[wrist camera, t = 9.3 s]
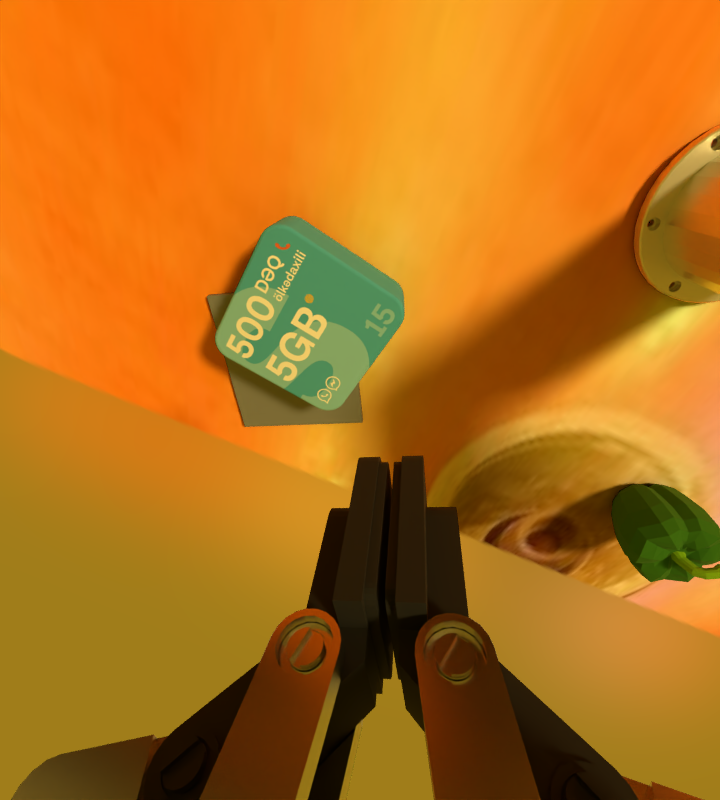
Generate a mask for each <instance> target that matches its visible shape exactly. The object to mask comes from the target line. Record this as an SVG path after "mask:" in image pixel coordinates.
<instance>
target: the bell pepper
mask: <svg viewBox="0 0 720 800" xmlns="http://www.w3.org/2000/svg"><path fill="white" fill-rule="evenodd" d="M611 515H612V521H613V526H614V530H615V534H616V538H617V540H618V542H619V544H620V546H621V548H622V550H623V552H624V554H625V555H626V556H628V558H629V560H630V562H631V563H632V564H633V566H634V567H635V568H636V569H637V570H638V571H639V572H640V574H641V575H642V576H644V577H645V578H646V579H648V580H649V581H650V582H653V581H658V580H663V579H667V580H675V581H684V582H689V581H690V580H691V579H692V578H693V577H699V578H703V579H718V578H720V564H717V565H716V566H715V567H714V568H702V565H709V564H713V563H716V562H718V561H720V528H719V526H718V525H717V524H716V523H715V521H714V520H713V519H712V518H711V517H710V516H709V515H708V514H707V512H706V511H705V510H704V509H703V508H701V507H700V506H699V505H697V504H696V503H695V502H693V501H692V500H691V499H689V498H688V497H686V496H685V495H683V494H682V493H680V492H679V491H677V490H676V489H674V488H671V487H668V486H665V485H659V484H654V485H652V486H650V487H647V486H645V485H643V484H635V485H630V486H629V487H627V488H625V489H623V490H621V491H620V492H619V493H618V494H617V496H616V497H615V498H614V500H613V504H612V512H611Z"/></svg>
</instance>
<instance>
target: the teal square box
mask: <svg viewBox="0 0 720 800" xmlns="http://www.w3.org/2000/svg"><path fill="white" fill-rule="evenodd" d="M403 319H404V295H403V291H402V288H401V287H400V285H399V284H398V283H397V282H396V281H394V280H393V279H391V278H390V277H388V276H387V275H385V274H384V273H383V272H381V271H380V270H378V269H377V268H375V267H374V266H372V265H371V264H369V263H368V262H366V261H365V260H363V259H362V258H360V257H359V256H357V255H356V254H354V253H353V252H351V251H350V250H348V249H347V248H345V247H344V246H342V245H341V244H339V243H338V242H336V241H335V240H333V239H332V238H330V237H329V236H327V235H326V234H324V233H323V232H321V231H320V230H318V229H317V228H315V227H314V226H312V225H311V224H309V223H308V222H306V221H305V220H303V219H301V218H299V217H296V216H288V217H285V218H283V219H281V220H279V221H278V222H276V223H274V224H273V225H271V226H269V227H268V228H266V229H265V230H264V232H263V233H262V235H261V236H260V239H259V241H258V243H257V245H256V247H255V249H254V251H253V254H252V256H251V258H250V260H249V262H248V264H247V267H246V269H245V271H244V273H243V275H242V277H241V279H240V282H239V284H238V286H237V288H236V290H235V292H234V295H233V297H232V299H231V301H230V303H229V305H228V307H227V310H226V312H225V314H224V316H223V318H222V320H221V323H220V325H219V327H218V329H217V331H216V334H215V342H216V346H217V348H218V349H219V351H220V352H221V353H222V354H223V355H224V356H225V357H227V358H229V359H231V360H232V361H234V362H236V363H238V364H240V365H241V366H243V367H245V368H247V369H249V370H250V371H252V372H254V373H256V374H257V375H259V376H261V377H263V378H265V379H266V380H268V381H270V382H272V383H274V384H275V385H277V386H279V387H281V388H283V389H284V390H286V391H288V392H290V393H292V394H293V395H295V396H297V397H299V398H301V399H302V400H304V401H306V402H308V403H310V404H311V405H313V406H315V407H317V408H319V409H321V410H326V411H330V410H335V409H337V408H339V407H340V406H341V405H342V404H343V403H344V402H345V400H346V399H347V398H348V396H349V395H350V394H351V392H352V391H353V390H354V388H355V387H356V385H357V384H358V383H359V381H360V380H361V379H362V377H363V376H364V374H365V373H366V372H367V370H368V369H369V368H370V366H371V365H372V364H373V362H374V361H375V359H376V358H377V357H378V355H379V354H380V353H381V351H382V350H383V349H384V347H385V346H386V344H387V343H388V342H389V340H390V339H391V338H392V336H393V335H394V334H395V332H396V331H397V329H398V328H399V327H400V325H401V324H402V322H403Z"/></svg>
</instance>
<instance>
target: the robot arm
mask: <svg viewBox="0 0 720 800" xmlns="http://www.w3.org/2000/svg"><path fill="white" fill-rule="evenodd" d="M712 141H713V144H712V145H711V143H712ZM650 220H651V222H650V224H649V225H648V226H647V224H648V222H649V221H650ZM634 252H635V259H636V262H637V264H638V267H639V270H640V272H641V273H642V275H643V276H644V278H645V279H646V281H647V282H648V283H649V284H650V285H652V286H653V287H654V288H655V289H657V290H658V291H660V292H661V293H663V294H665V295H667V296H669V297H671V298H674V299H677V300H680V301H685V302H693V303H706V302H716V301H720V125H718V126H716V127H714V128H712V129H710V130H709V131H708V132H706V133H705V134H703V135H702V136H700V137H699V138H697V139H696V140H694V141H693V142H691V143H690V144H689V145H688V146H687V147H686V148H685V149H684V150H682V151H681V152H680V153H679V154H678V155H677V156H676V157H675V158H674V159H673V160H672V161H671V162H670V163H669V165H668V166H667V167H666V168H665V169H664V170H663V171H662V173H661V174H660V175H659V177H658V178H657V180H656V181H655V183H654V184H653V186H652V187H651V189H650V190H649V192H648V194H647V196H646V198H645V200H644V203H643V205H642V207H641V209H640V212H639V215H638V219H637V223H636V226H635V234H634ZM393 651H394V657H395V663H396V668H397V674H398V679H400V680H401V683H402V689H403V694H404V700H405V706H406V709H407V711H408V712H409V713H410V714H411V716H412V717H413V718H414V720H415V721H416V722H417V723H418V724H419V726H420V727H421V728H422V730H423V731H424V732H425V738H426V746H427V753H428V760H429V768H430V775H431V782H432V789H433V797H434V800H703V799H700V798H697V797H694V796H692V795H689V794H686V793H683V792H680V791H677V790H674V789H672V788H669V787H666V786H663V785H660V784H657V783H655V782H651V783H650V785H646V784H643V783H641V782H637V781H635V780H632V779H629V778H626V777H623V776H621V775H620V774H619V773H618V772H617V770H615V768H614V767H613V766H611V765H610V764H609V763H608V762H607V761H606V760H605V759H604V758H603V757H602V756H601V755H600V754H598V753H597V752H596V751H595V750H594V749H593V748H592V747H591V746H590V745H589V744H588V743H587V742H585V741H584V740H583V739H582V738H581V737H580V736H579V735H578V734H577V733H576V732H575V731H573V730H572V729H571V728H570V727H569V726H568V725H567V724H566V723H565V722H564V721H563V720H562V719H561V718H559V717H558V716H557V715H556V714H555V713H554V712H553V711H552V710H551V709H550V708H548V706H546V705H545V704H544V703H543V702H542V701H541V700H540V699H539V698H538V697H537V696H536V695H534V694H533V693H532V692H531V691H530V690H529V689H528V688H527V687H526V686H525V685H524V684H523V683H522V682H520V681H519V680H518V679H517V678H516V677H515V676H514V675H513V674H512V673H511V672H510V671H508V670H507V669H506V668H505V667H504V666H503V665H502V664H501V663H500V662H499V661H498V658H497V654H496V651H495V648H494V645H493V643H492V641H491V639H490V637H489V635H488V634H487V632H486V631H485V630H484V629H483V628H482V627H481V625H480V624H478V623H477V622H475V621H474V620H472V619H471V618H469V616H468V608H467V598H466V589H465V580H464V571H463V562H462V553H461V544H460V535H459V526H458V517H457V509H456V507H427V500H426V486H425V473H424V459H423V456H402V462H394V471H393V485H391V478H390V470H389V464H388V462H381V459H380V457H364V458H359V460H358V464H357V470H356V475H355V480H354V486H353V491H352V497H351V502H350V507H349V508H332V509H331V511H330V513H329V516H328V520H327V524H326V528H325V532H324V537H323V541H322V545H321V550H320V553H319V558H318V562H317V566H316V570H315V575H314V579H313V583H312V587H311V592H310V595H309V600H308V604H307V608H306V609H303V610H300V611H296V612H294V613H293V614H291V615H289V616H288V617H286V618H285V619H284V620H283V621H282V622H281V623H280V624H279V625H278V626H277V628H276V629H275V631H274V633H273V634H272V636H271V638H270V640H269V643H268V645H267V647H266V650H265V652H264V654H263V656H262V658H261V661H260V662H259V663H258V664H256V665H255V666H254V667H253V668H251V669H250V670H249V671H248V672H246V674H244V675H243V676H242V677H240V678H239V679H238V680H236V681H235V682H234V683H233V684H231V685H230V686H229V687H228V688H226V689H225V690H224V691H223V692H221V693H220V694H219V695H218V696H216V697H215V698H214V699H213V700H211V701H210V702H209V703H208V704H206V705H205V706H204V707H203V708H201V709H200V710H199V711H198V712H196V713H195V714H194V715H193V716H191V717H190V718H189V719H188V720H186V721H185V722H184V723H183V724H181V725H180V726H179V727H178V728H176V729H175V730H174V731H173V732H172V733H171V734H170V735H169V736H166V737H162V738H156V737H155V736H154V735H149V736H145V737H140V738H136V739H131V740H126V741H121V742H116V743H111V744H107V745H102V746H98V747H93V748H88V749H83V750H78V751H73V752H69V753H64V754H60V755H57V756H55V757H53V758H50V759H48V760H46V761H45V762H43V763H42V764H41V765H40V766H38V767H37V768H36V769H34V770H33V771H32V772H31V773H30V774H29V775H28V776H27V778H26V779H25V780H24V781H23V782H22V783H21V784H20V786H19V787H18V789H17V790H16V792H15V794H14V795H13V797H12V799H11V800H346V799H347V794H348V790H349V785H350V781H351V776H352V771H353V767H354V762H355V758H356V753H357V749H358V744H359V739H360V735H361V731H362V723H363V719H364V718H365V717H366V715H367V714H368V713H369V712H370V711H371V710H372V709H373V708H374V707H375V705H376V694H382V688H383V679H391V677H392V664H393Z"/></svg>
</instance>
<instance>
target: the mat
mask: <svg viewBox="0 0 720 800" xmlns="http://www.w3.org/2000/svg"><path fill="white" fill-rule="evenodd" d="M233 295H234V293H225V294H212V295H208V296H207V299H208V302H209V305H210V309H211V312H212V316H213V319H214V322H215V326H216V329H218V327H219V325H220V323H221V320H222V318H223V316H224V314H225V312H226V310H227V307H228V305H229V303H230V301H231V299H232V297H233ZM224 357H225V356H224ZM225 360H226V363H227V367H228V370H229V374H230V377H231V380H232V384H233V387H234V391H235V394H236V398H237V401H238V404H239V408H240V411H241V415H242V418H243V421H244V425H245V427H250V426H278V425H305V424H333V423H361V422H363V416H362V407H361V398H360V389H359V383H358V384H357V385H356V387H355V388H354V390H353V391H352V392H351V394H350V395H349V396H348V398H347V399H346V400H345V402H344V403H343V404H342V405H341V406H340V407H339V408H337V409H335V410H330V411H326V410H321V409H319V408H317V407H315V406H313V405H311V404H310V403H308V402H306V401H304V400H302V399H301V398H299V397H297V396H295V395H293V394H292V393H290V392H288V391H286V390H284V389H283V388H281V387H279V386H277V385H275V384H274V383H272V382H270V381H268V380H266V379H265V378H263V377H261V376H259V375H257V374H256V373H254V372H252V371H250V370H249V369H247V368H245V367H243V366H241V365H240V364H238V363H236V362H234V361H232V360H231V359H229V358H227V357H225Z"/></svg>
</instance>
